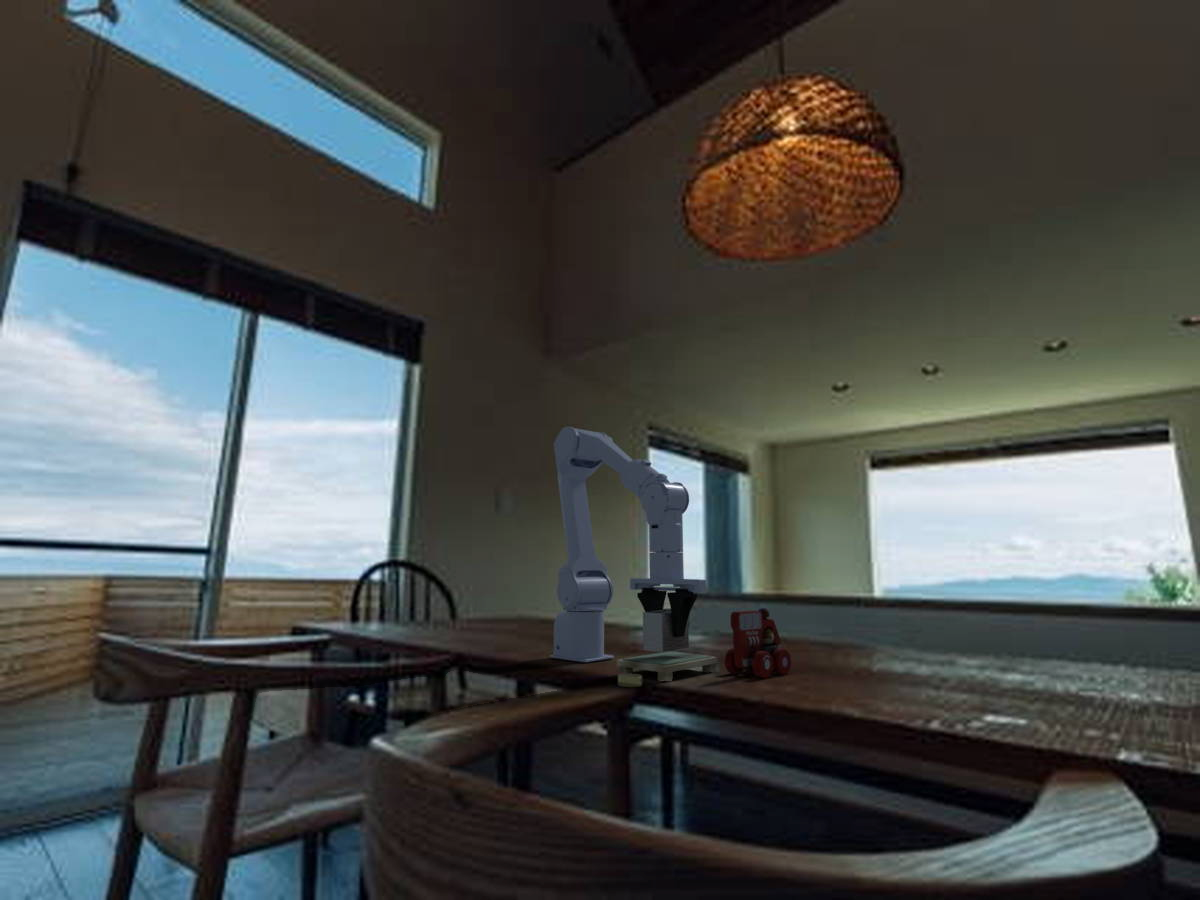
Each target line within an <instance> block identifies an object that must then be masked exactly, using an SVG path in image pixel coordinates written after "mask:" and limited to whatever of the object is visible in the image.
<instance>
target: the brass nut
mask: <svg viewBox="0 0 1200 900" xmlns="http://www.w3.org/2000/svg"><path fill="white" fill-rule="evenodd" d="M617 686H619V687H624V688H637V687H639V688H640V687H642V686H643V675H642V674H638V673H633V674H620V675H619V674H618V675H617Z"/></svg>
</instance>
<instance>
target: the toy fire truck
mask: <svg viewBox="0 0 1200 900" xmlns="http://www.w3.org/2000/svg"><path fill="white" fill-rule="evenodd" d="M730 628H731V630H732V635H733V636H732V639H733V641H732V642H733V647H732V648H730V649H728V650H727V651H726V654H725V657H724V666H725V669H726V671H727V672H728V673H729V674H731V675H740V674H742V673H743V672H744V671H752V672H753V674H754V675H755V676H756V677H757V678H759V679H768V678H770V677H771V676H772V675H773V673H774V674H776V675H781V676H785V675H788V674H789V673H790V671H791V667H792V660H791V654H790V653H789V651H788V650H787V649H784V648H782V641H781V637H780V635H779V631H778V629H777V626H776V623H775V620H774V619H773V618H770V612H769V610H768V609H767V608H764V607H761V608H759V609H758V610H740V611H738V610H737V611H732V612H731V614H730Z"/></svg>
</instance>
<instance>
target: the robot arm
mask: <svg viewBox="0 0 1200 900" xmlns="http://www.w3.org/2000/svg"><path fill="white" fill-rule="evenodd" d="M553 448H554V457H555V458H554V459H555V465H556V471H557V484H558V491H559V498H560V499H559V500H560V506H561V514H562V521H563V530H564V537H565V538H564V539H565V546H566V554H567V555H566V556H567V561H566V562H565V563H564V565H563V566H562V567H561V568H560V569H559V570H558V571H557V576H558V577H557V578H558V583H557V587H556V595H557V599H558V602H559V603H560V606H561V607H562V610H561V611H560V612H558V614H557V615H556V616H555V618H554V623H553V654H550V656H549V657H550V658H551V659H559V660H566V661H573V662H579V663H591V662H596V661H603V660H609V659H614V658H615V656H614V655H613V654H605V611H606V610H608V605H609V604H610V603H611V601H612V600H613V596H614V586H613V583H612V581H611V579H610V577H609V574H608V569H607V566H606V565H605V564H604V563H603V562H601V560H600V559H599V558H598V557H597V556H596V548H595V541H594V535H593V529H592V521H591V515H590V507H589V500H588V493H587V487H586V486H587V485H586V480H587V479H588V477H590V476H592V475H593V474H594V473H595V472H596V471H597V469H599V467H600V466H601V465H602V464H603V463H604V464H606V466H608V467H610V468H611V469H613V470H614V471H615V472H616V473H618V474H620V481H621V484H622V485H623V486H624V487H625V488H626V489H628V490H629V492H631V493H632V494H634V496H635V497H636V498H639V500H640V504H641V507H642V510H644V513H645V516H646V517H645V519H646V520H645V521H646V522H647V525H648V541H649V543H648V549H649V550H648V552H649V554H648V555H649V557H648V558H649V559H648V560H649V578H648V577H647V578H646V577H645V578H643V577H642V578H641V577H635V578H629V590H633V591H635V590H641V592H637V594H636V595H637V596H636V597H637V598H638V600H639V602H640V604H641V606H642V608H643V610H644V612H648V611H658V610H663V609H664V606H665V602H666V601H665V600H666V597H667V598H668V602H669V607H670V608H671V612H672V629H673V636H674V637H683V636H684V634H685V629H686V624H687V620H688V621H689V616H690V614H691V611H692V609H693V607H694V604H695V603H696V600H697V599H698V593H703V592H704V593H706V592H707V579H698V578H695V579H693V578H685V576H684V572H685V571H684V570H685V569H684V534H683V533H684V530H683V526H684V524H683V522H684V521H683V519H684V518H683V514H684V513H685V512H686V511H687V510H688V507H689V504H690V494H689V491H688V489H687V488H686V486H684V485H683V483H682V482H677V481H676V482H674V481H673V482H670V481H669V479H668V475H666V474H664V473H660V472H659V471H657V470H656V469H654V468H653V467H652V462H651V461H650V460H648V459H640V458H639V459H634V460H633V459H632V458H631V457H630V456H629V455H628V454H627V453H625V451H623V449H621V448H620V446H618V445H617V444H616V443H615V442H614V441H613V438H612V437H610V436H609V435H607V434H606V433H605V432H601V431H599V432H598V431H591V430H585V429H581V428H575V427H573V426H565V427H563V428H562V429H561V430H560V431H559V433H558V434H557V437H556V439H555V440H554V443H553ZM661 585H673V587H669V586H668V587H667V586H666V587H663V586H661ZM668 591H669V592H668ZM671 591H672V592H671Z"/></svg>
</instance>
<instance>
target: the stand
mask: <svg viewBox="0 0 1200 900" xmlns="http://www.w3.org/2000/svg"><path fill="white" fill-rule="evenodd" d="M717 663H718V656H713V655H707V654H706V655H705V654H697V653H690V652H689V653H688V652H681V651H680V652H679V651H674V650H673V651H667V652H655V653H651V654H650V653H649V654H643V655H638V656H629V657H625V658H620V659H617V660H616V666H618V674H619V673H623V674H629V673H633V669H637V670H642V671H643V670H645V671H650V672H657V681H658V680H664V681H667V680H671V679H674V678H673V676H674V675H673V672H677V671H682V670H687V669H688V670H689V669H693V668H697V667H701V668H702V670H701V671H706V672H705V673H709V672H712V673H716V672H717ZM715 671H716V672H715ZM633 674H634V673H633Z"/></svg>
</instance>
